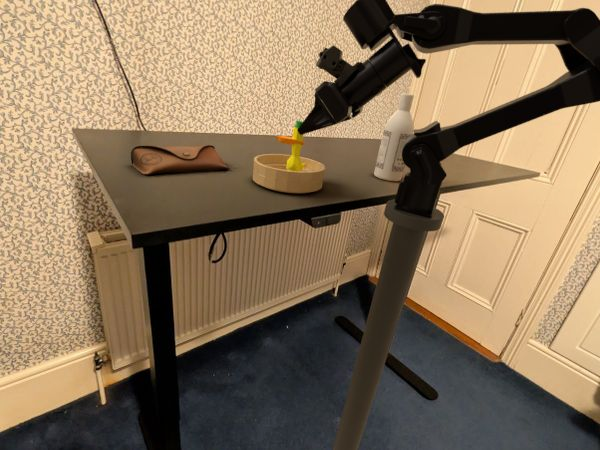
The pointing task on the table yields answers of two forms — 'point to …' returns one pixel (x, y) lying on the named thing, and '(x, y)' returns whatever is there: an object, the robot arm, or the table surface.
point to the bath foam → (395, 141)
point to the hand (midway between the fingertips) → (306, 130)
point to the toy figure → (294, 148)
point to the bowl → (287, 174)
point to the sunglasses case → (175, 159)
